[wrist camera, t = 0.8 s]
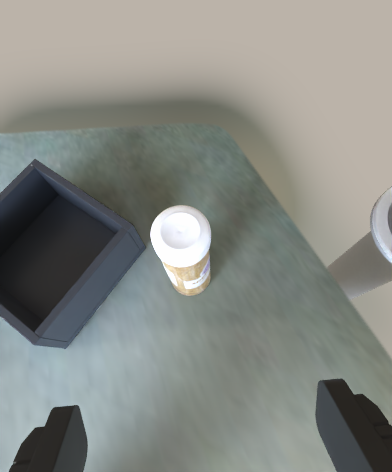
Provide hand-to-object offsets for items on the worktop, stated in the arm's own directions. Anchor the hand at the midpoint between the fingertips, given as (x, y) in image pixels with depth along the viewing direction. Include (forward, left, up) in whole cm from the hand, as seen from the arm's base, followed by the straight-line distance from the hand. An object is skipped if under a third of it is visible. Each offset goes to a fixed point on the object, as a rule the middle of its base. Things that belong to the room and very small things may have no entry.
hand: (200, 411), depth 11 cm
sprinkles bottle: (-8, -8, -24) cm, 26 cm away
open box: (-1, -21, -24) cm, 31 cm away
